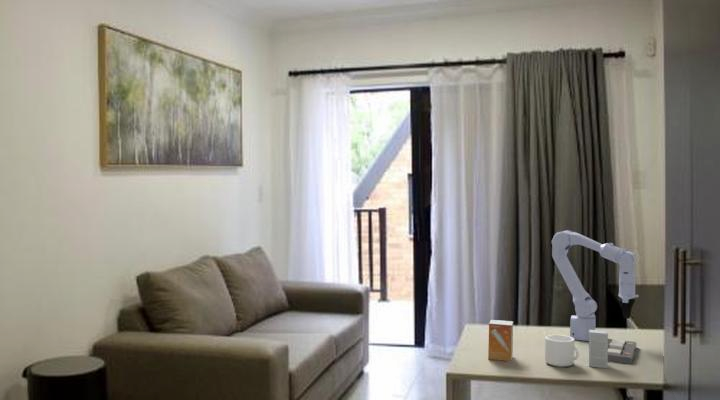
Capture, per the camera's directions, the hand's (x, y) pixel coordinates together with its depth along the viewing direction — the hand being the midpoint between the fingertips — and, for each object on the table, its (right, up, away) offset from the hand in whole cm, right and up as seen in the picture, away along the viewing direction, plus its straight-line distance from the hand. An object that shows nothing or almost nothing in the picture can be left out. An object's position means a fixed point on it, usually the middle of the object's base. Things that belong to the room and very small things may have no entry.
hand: (626, 318), depth 245 cm
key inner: (-5, -10, -5) cm, 12 cm away
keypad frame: (-8, -11, -11) cm, 18 cm away
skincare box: (-21, -12, -26) cm, 35 cm away
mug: (-32, -12, -24) cm, 42 cm away
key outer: (-12, -12, -17) cm, 24 cm away
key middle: (-8, -11, -11) cm, 18 cm away
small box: (-52, -11, -17) cm, 56 cm away
